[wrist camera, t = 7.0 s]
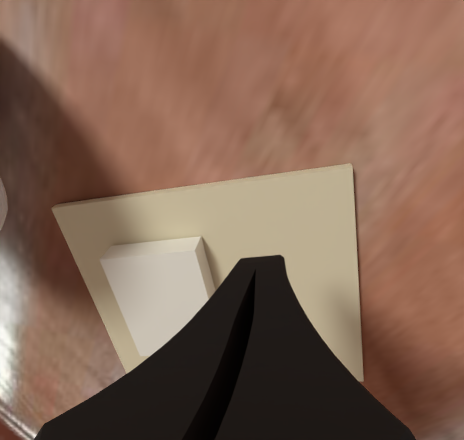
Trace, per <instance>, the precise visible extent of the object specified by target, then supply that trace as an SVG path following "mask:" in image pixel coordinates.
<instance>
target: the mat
mask: <svg viewBox="0 0 464 440" xmlns="http://www.w3.org/2000/svg"><path fill="white" fill-rule="evenodd" d="M51 209H52V212H53V214H54V216H55V218H56V220H57V222H58V225H59V227H60V229H61V231H62V233H63V236H64V238H65V240H66V242H67V244H68V247H69V249H70V251H71V253H72V255H73V257H74V260H75V262H76V264H77V266H78V268H79V271H80V273H81V275H82V277H83V279H84V281H85V284H86V286H87V288H88V290H89V292H90V295H91V297H92V299H93V301H94V303H95V305H96V308H97V310H98V312H99V314H100V316H101V319H102V321H103V323H104V325H105V327H106V329H107V332H108V334H109V336H110V338H111V340H112V343H113V345H114V347H115V349H116V351H117V353H118V356H119V358H120V360H121V362H122V364H123V367H124V369H125V371H126V373H129V372H130V371H131V370H133V369H134V368H136V367H137V366H138V365H139V364H141V363H142V362H143V361H144V360H146V359H147V358H148V357H150V356H140V355H139V352H138V350H137V348H136V345H135V343H134V340H133V338H132V336H131V333H130V331H129V329H128V326H127V324H126V321H125V319H124V317H123V314H122V312H121V310H120V307H119V305H118V303H117V300H116V298H115V295H114V293H113V291H112V288H111V286H110V284H109V281H108V279H107V276H106V274H105V272H104V269H103V267H102V265H101V262H100V258H101V257H102V256H103V255H104V254H105V253H106V251H107V250H108V249H109V248H110V247H111V246H114V245H123V244H133V243H142V242H152V241H161V240H171V239H180V238H190V237H199V236H201V238H202V242H203V245H204V249H205V253H206V257H207V260H208V264H209V268H210V272H211V275H212V279H213V283H214V287H215V290H217V289H218V287H219V286H220V285H221V283H222V282H223V281H224V279H225V278H226V277H227V276H228V274H229V273H230V271H231V270H232V269H233V267H234V266H235V265H236V263H237V262H238V261H239V260H240V259H241V258H249V257H260V256H272V255H281V256H283V257H284V259H285V265H286V272H287V276H288V279H289V282H290V284H291V287H292V289H293V291H294V293H295V295H296V297H297V299H298V301H299V303H300V305H301V307H302V308H303V310H304V312H305V313H306V315H307V317H308V318H309V320H310V322H311V323H312V325H313V326H314V328H315V329H316V331H317V332H318V333H319V335H320V336H321V338H322V339H323V340H324V342H325V343H326V344H327V346H328V347H329V348H330V349H331V351H332V352H333V353H334V355H335V356H336V357H337V358H338V359H339V360H340V361H341V362H342V364H343V365H344V366H345V367H346V368H347V369H348V370H349V371H350V373H351V374H352V375H353V376H354V377H355V378H356V379H357V380H358V381H364V378H363V358H362V339H361V320H360V300H359V281H358V261H357V242H356V223H355V203H354V184H353V167H352V165H351V163H350V164H343V165H336V166H329V167H321V168H314V169H307V170H300V171H292V172H285V173H278V174H271V175H264V176H256V177H249V178H242V179H235V180H228V181H220V182H213V183H206V184H199V185H192V186H184V187H177V188H170V189H163V190H155V191H148V192H141V193H134V194H127V195H119V196H112V197H105V198H98V199H91V200H83V201H76V202H69V203H62V204H56V205H55V206H53V207H52V208H51Z"/></svg>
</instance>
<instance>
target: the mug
mask: <svg viewBox="0 0 464 440" xmlns="http://www.w3.org/2000/svg"><path fill="white" fill-rule="evenodd" d="M7 211H8V204H7V196H6V191H5V187H4V185H3V182H2V180H1V177H0V231H1V229H2V227H3V225H4V222H5V219H6V215H7Z"/></svg>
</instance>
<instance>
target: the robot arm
mask: <svg viewBox="0 0 464 440" xmlns="http://www.w3.org/2000/svg"><path fill="white" fill-rule="evenodd" d="M34 440H416V439H415V437H414V436H413V434H412V432H411V431H410V429H409V428H408V427H406V426H405V425H404V424H403V423H402V422H401V421H400V420H399V419H397V418H396V417H395V416H394V415H393V414H392V413H391V412H389V411H388V410H387V409H386V408H385V407H384V406H383V405H382V404H381V403H380V402H379V401H378V400H377V399H376V398H374V397H373V396H372V395H371V394H370V392H369V391H368V390H367V389H366V388H365V387H364V386H363V385H362V384H361V383H360V382H359V381H358V380H357V379H356V378H355V377H354V376H353V375H352V374H351V373H350V371H349V370H348V369H347V368H346V367H345V366H344V365H343V364H342V362H341V361H340V360H339V359H338V358H337V357H336V356H335V355H334V353H333V352H332V351H331V349H330V348H329V347H328V346H327V344H326V343H325V342H324V340H323V339H322V338H321V336H320V335H319V333H318V332H317V331H316V329H315V328H314V326H313V325H312V323H311V322H310V320H309V318H308V317H307V315H306V313H305V312H304V310H303V308H302V307H301V305H300V303H299V301H298V299H297V297H296V295H295V293H294V291H293V289H292V287H291V284H290V282H289V279H288V276H287V272H286V265H285V259H284V257H283V256H281V255H272V256H260V257H249V258H241V259H240V260H239V261H238V262H237V263H236V265H235V266H234V267H233V269H232V270H231V271H230V273H229V274H228V276H227V277H226V278H225V279H224V281H223V282H222V283H221V285H220V286H219V287H218V289H217V290H216V291H215V292H214V294H213V295H212V296H211V297H210V299H209V300H208V301H207V302H206V303H205V304H204V306H203V307H202V308H201V309H200V310H199V311H198V312H197V313H196V314H195V316H194V317H193V318H192V319H191V320H190V321H189V322H188V323H187V324H186V325H185V326H184V327H183V328H182V329H181V330H180V331H179V332H178V333H177V334H176V335H175V336H173V337H172V338H171V339H170V340H169V341H168V342H167V343H166V344H164V345H163V346H162V347H161V348H160V349H158V350H157V351H156V352H155V353H153V354H152V355H151V356H150V357H148V358H147V359H146V360H144V361H143V362H142V363H141V364H139V365H138V366H137V367H136V368H134V369H133V370H131V371H130V372H129V373H127V374H126V375H124V376H123V377H121V378H120V379H119V380H117V381H116V382H114V383H113V384H111V385H110V386H108V387H106V388H105V389H103V390H102V391H100V392H99V393H97V394H96V395H94V396H92V397H91V398H89V399H87V400H86V401H84V402H82V403H80V404H79V405H77V406H75V407H73V408H72V409H70V410H68V411H66V412H65V413H63V414H61V415H59V416H58V417H56V418H54V419H52V420H50V421H49V422H47V423H45V424H44V425H43V427H42V428H41V429H40V431H39V433H38V434H37V436H36V437H35V439H34Z"/></svg>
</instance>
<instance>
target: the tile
mask: <svg viewBox="0 0 464 440" xmlns="http://www.w3.org/2000/svg"><path fill="white" fill-rule="evenodd" d="M100 262H101V265H102V267H103V269H104V272H105V274H106V276H107V279H108V281H109V284H110V286H111V288H112V291H113V293H114V295H115V298H116V300H117V303H118V305H119V307H120V310H121V312H122V314H123V317H124V319H125V321H126V324H127V326H128V329H129V331H130V333H131V336H132V338H133V340H134V343H135V345H136V348H137V350H138V352H139V355H140V356H151V355H152V354H153V353H155V352H156V351H157V350H158V349H160V348H161V347H162V346H163V345H164V344H166V343H167V342H168V341H169V340H170V339H171V338H172V337H173V336H175V335H176V334H177V333H178V332H179V331H180V330H181V329H182V328H183V327H184V326H185V325H186V324H187V323H188V322H189V321H190V320H191V319H192V318H193V317H194V316H195V314H196V313H197V312H198V311H199V310H200V309H201V308H202V307H203V306H204V304H205V303H206V302H207V301H208V300H209V299H210V297H211V296H212V295H213V294H214V292H215V291H216V290H215V287H214V283H213V279H212V275H211V272H210V268H209V264H208V260H207V257H206V253H205V249H204V245H203V242H202V238H201V236H199V237H190V238H180V239H171V240H161V241H152V242H142V243H133V244H123V245H114V246H111V247H110V248H109V249H108V250H107V251H106V253H105V254H104V255H103V256H102V257H101V258H100Z"/></svg>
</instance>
